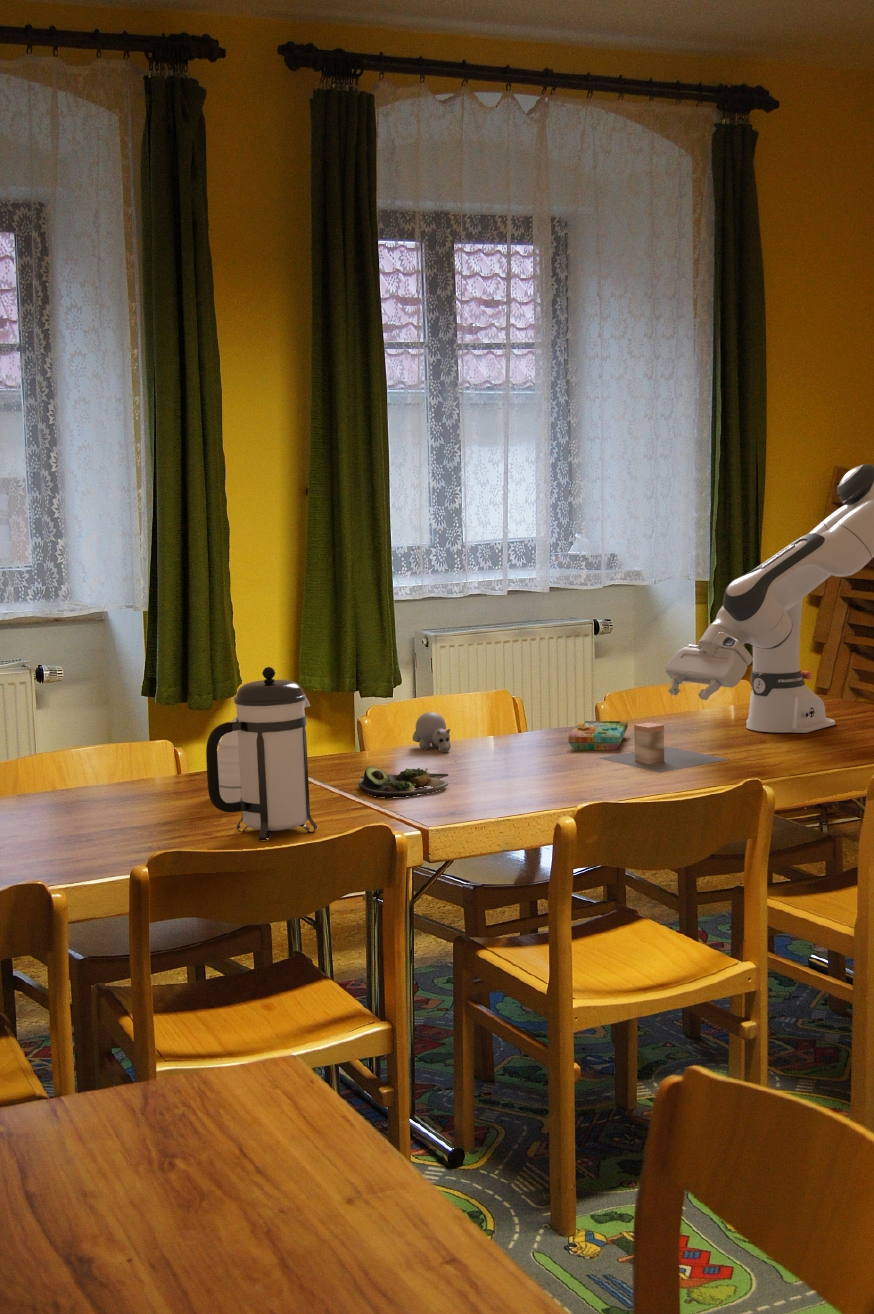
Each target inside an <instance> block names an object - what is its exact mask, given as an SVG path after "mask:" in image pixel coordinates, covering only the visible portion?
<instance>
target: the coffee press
mask: <svg viewBox="0 0 874 1314" xmlns="http://www.w3.org/2000/svg"><path fill="white" fill-rule="evenodd" d="M261 674H262V677H264V678H265V679H263V680H261V679H260V680H255V681H251V682H250V681H249V682H247V683H245V684H243V685H242V686H240V687H239V688H238V690H237V692H236V696H234V697H233V703H234V704H235V706H236V716H237V718H236V722H231V721H227V722H223V723H220V724H218V725H217V726H216V727H214V729H212V730H211V732H210V734H209V736H208V738H207V742H206V748H205V750H206V751H205V756H206V757H205V758H206V759H205V761H206V778H207V780H206V781H207V789H208V790H207V791H208V796H209V800H210V802H211V804H212V805H213V806H214V807H215V808H216V809H217V810H219V811H221V812H225V813H239V812H241V819H240V820H239V822H238V823H237V824H236V829H237V831H238V830H239V829H240V828H242V827H241V823H242V822H243V824H244V825H245V826H246V827H244V828H243V829H244V831H245V830H246V829H247V828H251V830H252V829H253V830H256V831H259V835H258V840H259V841H260V840H267V839H266V838H269V839H270V835H271V833H272V832H273V831H284V830H285V831H286V830H290V829H295V828H298V827H300V828H301V827H302V828H303V829H304V830H305V831H307V832H308V831H309V830H310V829H311V827H309V826H308V825H306V824H305V823H306V822H308V821H309V823H310V825H311V826H312V827H313V831H314V832H316V831H317V829H318V826H317V824H316V823H315V821H314V819H313V818H312V817H311V806H310V804H311V803H310V783H309V766H308V765H309V764H308V747H307V746H308V744H307V742H308V741H307V731H306V726H307V715H306V712H305V708H310V707H311V704H310V701H309V700H308V698H307V694H306V693H305V692H304V689H303V687H302V686H301V685H300V684H298V683H297V682H295V681H292V680H288V679H275V678H274V677H275V675H276V672H275V669H274V668H273V667H271V666H267V667H265V668H264V669H263V670H262V673H261ZM237 730H238V746H239V764H240V783H241V798H240V800H241V801H239V802H233V803H226V802H224V801H223V800H222V798H221V796H220V792H219V777H218V758H217V752H218V748H219V746H218V743H219V740H220V739H222V737H223V735H224V734H226V733H229V732H232V731H237ZM315 830H316V831H315Z"/></svg>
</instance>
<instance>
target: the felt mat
mask: <svg viewBox="0 0 874 1314" xmlns="http://www.w3.org/2000/svg"><path fill="white" fill-rule="evenodd" d="M599 759H600V760H605V761H608V762H609V761H610V762H613V763H616V764H617V763H618V764H620V765H621V764H623V765H627V766H629V767H630V766H631V767H635V768H639V769H643V770H647V771H652V772H656V773H664V772H665V773H666V772H671V771H676V770H680V769H687V768H692V767H697V766H702V765H708V764H712V763H719V762H723V761H728V760H730V759H729V758H724V757H720V756H716V755H715V756H714V755H710V754H705V753H700V752H696V751H690V750H686V749H681V748H676V747H672V746H667V745H666V746H665V745H664V761H663V762H658V763H652V764H646V763H641V762H637V761H635V751H632V752H631V751H630V752H625V753H620V754H614V755H609V756H603V757H599Z"/></svg>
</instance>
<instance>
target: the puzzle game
mask: <svg viewBox="0 0 874 1314" xmlns="http://www.w3.org/2000/svg"><path fill="white" fill-rule="evenodd" d="M628 724H629V722H628V721H623V720H616V721H615V720H613V721H611V720H607V721H606V720H597V721H596V720H583V721H582V720H581V721H579V722H578V723H577V725H576V726H575V727H574V728H573V729H572V731H571V732H570V733H569V735H568V737H567V738H568V743H569V745H570V747H571V749H572V750H574V751H575V752H577V751H582V750H584V751H586V750H587V751H616V750H617V749H618V747H619V746H620V744H621V742H622V740H623V738H624V736H625V734H626V731H627V730H628V727H629V725H628Z"/></svg>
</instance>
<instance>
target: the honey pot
mask: <svg viewBox="0 0 874 1314" xmlns="http://www.w3.org/2000/svg"><path fill="white" fill-rule="evenodd" d="M236 718H237V715H236V716H235V717H234V718H233V719H232V720H230V722H236ZM217 758H218V777H219V792H220V796H221V798H222V800H223V801H224V802H227V803H233V802H239V801H241V800H240V798H241V783H240V764H239V746H238V730H237V731H232V732H229V733H226V734H224V735H223V736H222V737H221V739H220V740H219V743H218V748H217Z"/></svg>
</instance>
